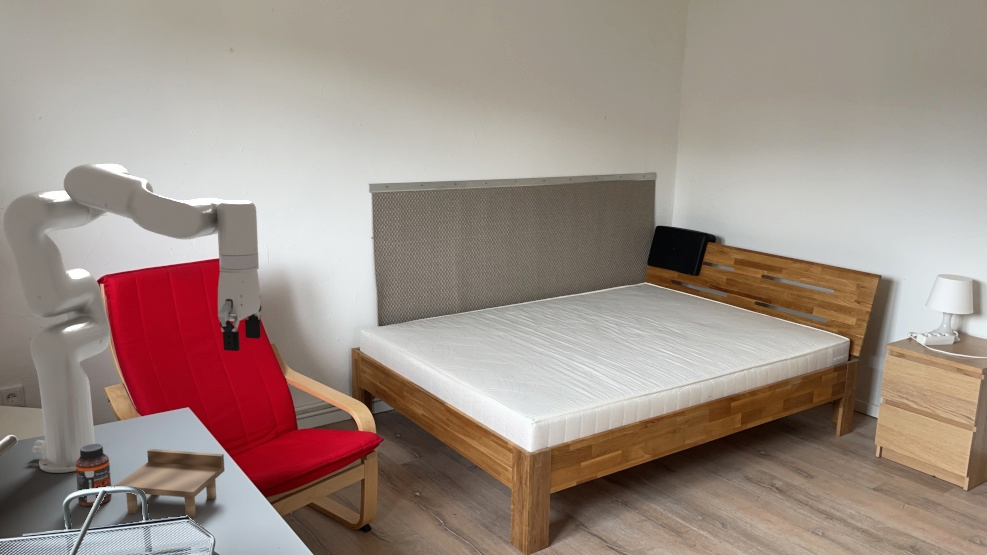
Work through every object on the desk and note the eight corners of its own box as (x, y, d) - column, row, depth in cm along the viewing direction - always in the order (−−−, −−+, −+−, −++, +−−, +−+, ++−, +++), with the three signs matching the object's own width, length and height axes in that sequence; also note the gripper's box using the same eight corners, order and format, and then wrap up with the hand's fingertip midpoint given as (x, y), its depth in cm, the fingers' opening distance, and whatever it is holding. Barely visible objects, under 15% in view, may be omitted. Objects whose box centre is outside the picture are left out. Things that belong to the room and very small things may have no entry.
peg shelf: (116, 515, 147) (113, 473, 146) (153, 488, 159) (150, 448, 158) (195, 522, 145) (192, 480, 144) (225, 494, 157) (223, 454, 155)
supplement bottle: (98, 509, 150) (94, 454, 148) (71, 506, 151) (66, 452, 149) (118, 495, 156) (114, 442, 154) (92, 492, 157) (87, 440, 155)
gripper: (240, 255, 164) (244, 332, 168) (199, 268, 148) (204, 354, 151) (274, 256, 163) (277, 334, 167) (237, 269, 147) (241, 356, 150)
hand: (242, 344), depth 159 cm, fingers open, 9 cm apart
